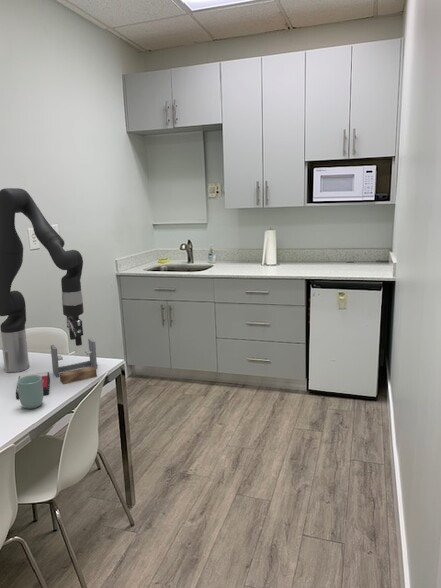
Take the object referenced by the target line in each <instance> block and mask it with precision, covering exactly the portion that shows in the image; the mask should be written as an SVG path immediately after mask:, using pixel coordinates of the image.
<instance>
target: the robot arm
mask: <svg viewBox="0 0 441 588" xmlns="http://www.w3.org/2000/svg"><path fill="white" fill-rule="evenodd" d="M21 213H22V214H23V215H24V216H25V217H27V219H28V220H29V221H30V223H31V226H32V229H33V232H34V235H35V237H36V239H37V240H38V241H39V243H40V244H41V245H42V246H43V247H44V248H45V249H46V251H48V254H49V256H50V258H51V260H52V262H53V263H54V265H55V266H56V267H57V268H58V269H59V270H62V271H66V272H65V273H66V274H64V275H63V276H62V277H61V278H60V279H61V280H60V282H61V284H60V286H61V301H62V303H61V304H62V305H61V306H62V313H63V316H65V317H66V328H67V329H68V331H69V332H68V333H69V340H70V341H73V340H74V342H75V346H77V347H79V346H82V345H83V342H82V341H83V340H82V339H83V338H82V336H84V329H83V320H82V319H81V318H80V317H79V316H80V315H81V316H82V315H83V314H84V301H83V300H84V299H83V292H82V285H81V284H82V282H81V278H82V273H83V266H84V259H83V255H82V254H81V252H80V251H78V250H76V249H70V250H65V249H64V246H65V240H64V239H63V238H62V236H61V235H60V234H59V233H58V231H56V230H55V229H54V228H53V226H52V225H51V224H50V223H49V222H48V220H47V219H46V217H45V216H44V214H43V213H42V212H41V210H40V208H39V206H38V205H37V204H36V202H35V201H34V199H33V197H32V196H31V194H29V192H28V191H27V190H25V189H23V188H19V187H18V188H17V187H14V188H13V187H9V188H8V187H6V188H2V189H0V317H6V316H7V318H6V319H5V320H4V321H2V322H1V324H0V334H1V335H0V336H1V343H2V347H1V348H2V355H3V356H2V357H3V358H2V359H3V365H4V370H5V373H18V372H23V371H26V370H28V369H29V368H30V361H29V351H28V342H27V333H26V323H27V309H26V300H25V297H24V295H23V293H22V292H20V291H19V290H11V289H12V285H13V281H14V280H15V278H16V276H17V275H18V273H19V272H20V269H21V268H22V265H23V262H24V245H23V242H22V240H21V237H20V236H19V234H18V232H17V229H16V220H15V219H16V214H21Z"/></svg>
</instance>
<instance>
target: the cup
mask: <svg viewBox="0 0 441 588" xmlns="http://www.w3.org/2000/svg"><path fill="white" fill-rule="evenodd" d="M16 384H17V385H16V387H17V386H18V394H19V399H18V400H19V402H20V404H21V406H22V407H23V408H25V409H35V408H38V407H39V406H41V404H42V403H43V401H44V396H43V382H42V377H41V376H39V375H28V376H24V377H22V378H20V379H19V380H18V379H17V381H16Z"/></svg>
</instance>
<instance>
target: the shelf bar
mask: <svg viewBox="0 0 441 588" xmlns="http://www.w3.org/2000/svg"><path fill="white" fill-rule="evenodd" d="M96 377H98V374H97V369H96V368H95V367H94V366H87V367H82V368H77V369H73V370H68V371H63V372H59V381H60V382H61V384H62V385H66V384H71V383H74V382H79V381H83V380H88V379H91V378H96Z"/></svg>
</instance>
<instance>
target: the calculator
mask: <svg viewBox="0 0 441 588" xmlns="http://www.w3.org/2000/svg"><path fill="white" fill-rule="evenodd" d="M28 375H39V376H41V377H42V382H43V397H44V396H49V395H50V382H51V379H50V372H49V371H43V372H42V371H41V372H34V373H27V374H20V375H19V376H18V379H17V381H18V380H19V379H20V378H22V377H24V376H28ZM15 398H16V400H20V399H19V394H18V386H17V385H16V390H15Z"/></svg>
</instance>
